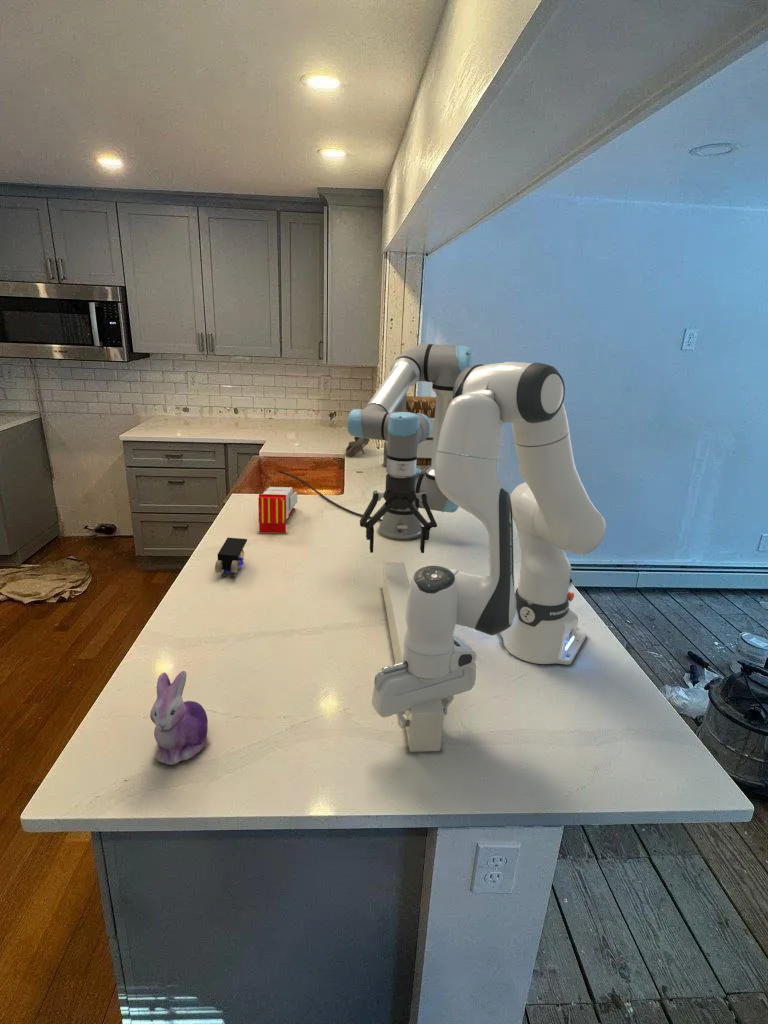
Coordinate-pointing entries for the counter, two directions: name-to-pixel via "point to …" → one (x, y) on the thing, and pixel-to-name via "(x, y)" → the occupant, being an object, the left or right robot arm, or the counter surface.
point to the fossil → (356, 446)
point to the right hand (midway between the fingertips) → (422, 719)
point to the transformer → (424, 407)
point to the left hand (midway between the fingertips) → (396, 551)
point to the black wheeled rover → (230, 556)
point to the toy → (276, 509)
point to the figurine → (177, 722)
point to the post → (422, 717)
